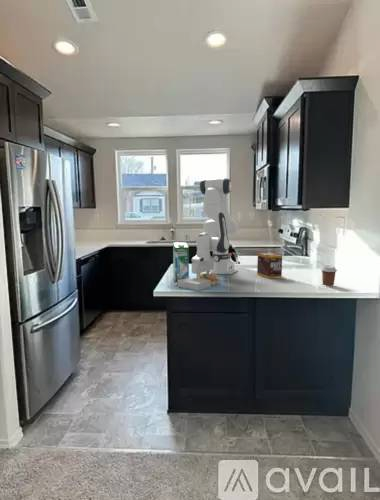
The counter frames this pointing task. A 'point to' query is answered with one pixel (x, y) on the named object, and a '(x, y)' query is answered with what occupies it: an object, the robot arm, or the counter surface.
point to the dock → (194, 283)
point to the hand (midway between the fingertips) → (203, 278)
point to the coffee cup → (328, 275)
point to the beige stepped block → (213, 281)
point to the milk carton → (180, 261)
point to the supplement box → (269, 265)
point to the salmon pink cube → (212, 276)
